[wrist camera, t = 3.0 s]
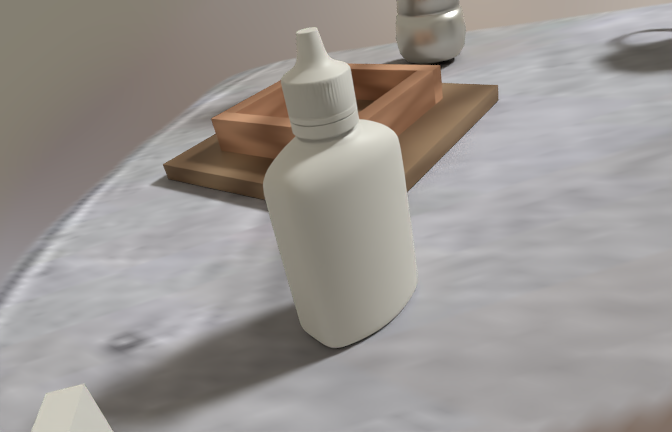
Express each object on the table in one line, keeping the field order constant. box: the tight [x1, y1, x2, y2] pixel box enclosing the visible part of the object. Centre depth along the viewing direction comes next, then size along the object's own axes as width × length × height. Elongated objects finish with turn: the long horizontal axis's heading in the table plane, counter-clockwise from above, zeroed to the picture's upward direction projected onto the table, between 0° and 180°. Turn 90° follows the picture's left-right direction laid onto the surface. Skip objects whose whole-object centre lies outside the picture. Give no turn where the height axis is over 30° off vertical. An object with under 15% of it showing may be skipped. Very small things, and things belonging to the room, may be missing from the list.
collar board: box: [163, 64, 498, 200], centre depth 39 cm, size 18×18×4 cm
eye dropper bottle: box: [263, 28, 418, 348], centre depth 20 cm, size 4×6×12 cm
